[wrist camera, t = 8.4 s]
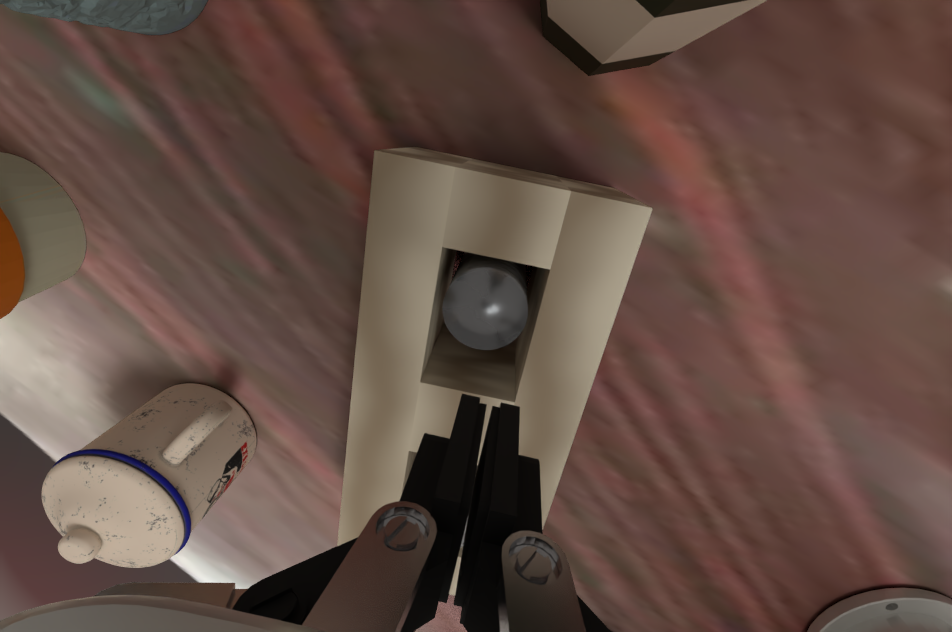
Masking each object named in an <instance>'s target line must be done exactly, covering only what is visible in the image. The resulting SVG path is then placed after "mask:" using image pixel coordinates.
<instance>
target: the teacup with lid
mask: <svg viewBox="0 0 952 632" xmlns="http://www.w3.org/2000/svg"><path fill="white" fill-rule="evenodd" d="M256 443H257V438H256V432H255V428H254V425H253V423H252V421H251V419H250V417H249V415H248V414H247V413H246V411H245V410H244V409H243V408H242V407H241V406H240V405H239V404H238V403H237V402H236V401H235V400H234V399H232V398H231V397H230V396H228V395H227V394H225V393H223V392H221V391H220V390H217V389H215V388H212V387H209V386H206V385H201V384H194V383H185V384H178V385H174V386H172V387H169V388H167V389H165V390H164V391H162V392H161V393H159V394H158V395H157V396H155V397H154V398H152V399H151V400H150V401H148V402H147V403H145V404H144V405H143V406H141V407H140V408H138V409H137V410H136V411H134V412H133V413H131V414H130V415H129V416H127V417H126V418H124V419H123V420H122V421H120V422H119V423H117V424H116V425H115V426H113V427H112V428H110V429H109V430H108V431H106V432H105V433H103V434H102V435H101V436H99V437H98V438H96V439H95V440H93V441H92V442H91V443H89V444H88V445H86V446H85V447H84V448H82V449H81V450H79V451H76V452H72V453H70V454H68V455H66V456H64V457H62V458H61V459H60V460H59V461H57V462H56V464H55V465H54V466H53V468H52V469H51V470H50V471H49V473H48V474H47V476H46V478H45V480H44V483H43V487H42V502H43V506H44V509H45V511H46V514H47V516H48V518H49V519H50V521H51V523H52V524H53V525H54V527H55V528H56V529H57V530H58V532H59V533H60V534H61V535H62V536H63V538H62V539H61V540H60V542H59V544H58V550H59V553H60V554H61V555H62V556H63V557H64V558H65V559H66V560H68V561H70V562H73V563H78V564H79V563H85V562H88V561H90V560H92V559H93V558H96V559H98V560H101V561H103V562H106V563H109V564H113V565H117V566H122V567H132V568H133V567H134V568H141V567H148V566H153V565H156V564H159V563H161V562H164V561H166V560H167V559H169V558H171V557H172V556H173V555H175V554H177V553H178V552H179V551H180V550H181V549H182V548H183V547H184V546H185V544H186V543H187V541H188V539H189V536H190V533H191V531H192V530H193V529H194V528H195V527H196V525H197V524H198V523H199V522H200V521H201V519H202V518H203V517H204V516H205V515H206V513H207V512H208V511H209V510H210V509H211V507H212V506H213V505H214V504H215V503H216V501H217V500H218V499H219V498H220V496H221V495H222V494H223V493H224V492H225V490H226V489H227V488H228V487H229V486H230V484H231V483H232V482H233V481H234V480H235V478H236V477H237V476H238V475H239V474H240V472H241V471H242V470H243V469H244V468H245V466H246V465H247V464H248V463H249V461H250V460H251V459H252V457H253V455H254V452H255V449H256Z"/></svg>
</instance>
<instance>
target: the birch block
mask: <svg viewBox="0 0 952 632" xmlns="http://www.w3.org/2000/svg"><path fill="white" fill-rule="evenodd" d="M652 209H653V208H652V207H650V206H648V205H646V204H644V203H642V202H640V201H638V200H636V199H634V198H632V197H630V196H628V195H627V194H625V193H623V192H621V191H619V190H617V189H615V188H611V187H607V186H602V185H597V184H592V183H587V182H583V181H578V180H573V179H568V178H563V177H559V176H554V175H549V174H544V173H539V172H535V171H530V170H525V169H520V168H515V167H510V166H506V165H501V164H496V163H491V162H486V161H482V160H477V159H472V158H467V157H462V156H458V155H453V154H448V153H443V152H438V151H433V150H429V149H424V148H419V147H406V148H394V149H383V150H374V160H373V171H372V181H371V192H370V203H369V213H368V224H367V234H366V245H365V256H364V266H363V277H362V288H361V298H360V309H359V320H358V330H357V341H356V351H355V362H354V373H353V383H352V394H351V405H350V415H349V426H348V436H347V447H346V458H345V468H344V479H343V490H342V500H341V511H340V521H339V532H338V543H337V546H339V545H341V544H344V543H346V542H348V541H350V540H353V539H355V538H357V537H359V535H360V534H361V532H362V531H363V529H364V527H365V526H366V524H367V523H368V521H369V520H370V518H371V517H372V515H373V514H374V513H375V512H376V511H377V510H378V509H379V508H381V507H382V506H384V505H386V504H389V503H392V502H396V501H400V498H401V495H402V493H403V490H404V487H405V484H406V482H407V479H408V476H409V473H410V471H411V468H412V465H413V462H414V460H415V457H416V454H417V451H418V449H419V446H420V443H421V440H422V438H423V435H424V433H427V434H432V435H436V436H440V437H445V438H449V439H450V436H451V433H452V429H453V425H454V421H455V418H456V414H457V410H458V407H459V403H460V399H461V395H462V394H467V395H471V396H475V397H480V403H483V404H487V406H486V413H485V419H484V425H483V431H482V437H481V444H480V450H479V456H478V462H477V465H478V463H479V459H480V455H481V451H482V447H483V443H484V438H485V434H486V430H487V426H488V422H489V418H490V414H491V410H492V406H496V407H500V404H501V402H502V403H506V404H510V405H515V406H519V407H520V425H519V455H522V456H527V457H531V458H535V459H539V462H540V482H541V508H542V530H543V527H544V524H545V521H546V519H547V516H548V513H549V510H550V507H551V504H552V501H553V498H554V495H555V492H556V489H557V486H558V484H559V481H560V478H561V475H562V472H563V469H564V466H565V463H566V460H567V457H568V454H569V451H570V448H571V446H572V443H573V440H574V437H575V434H576V431H577V428H578V425H579V422H580V419H581V416H582V413H583V410H584V408H585V405H586V402H587V399H588V396H589V393H590V390H591V387H592V384H593V381H594V378H595V375H596V372H597V370H598V367H599V364H600V361H601V358H602V355H603V352H604V349H605V346H606V343H607V340H608V337H609V334H610V332H611V329H612V326H613V323H614V320H615V317H616V314H617V311H618V308H619V305H620V302H621V299H622V297H623V294H624V291H625V288H626V285H627V282H628V279H629V276H630V273H631V270H632V267H633V264H634V261H635V259H636V256H637V253H638V250H639V247H640V244H641V241H642V238H643V235H644V232H645V229H646V226H647V223H648V221H649V218H650V215H651V212H652ZM457 250H459V251H464V252H469V253H474V254H478V255H483V256H488V257H493V258H497V259H502V260H507V261H512V262H517V263H521V264H526V265H531V266H533V270H532V274H531V278H530V282H529V286H528V290H527V302H528V317H527V321H526V324H525V327H524V329H523V331H522V332H521V334H520V335H519V336H518V337H517V338H516V339H515V340H514V341H513V342H511V343H510V344H508V345H506V346H504V347H501V348H498V349H494V350H479V349H474V348H471V347H469V346H466V345H464V344H463V343H461V342H460V341H458V340H457V339H456V338H455V337H454V336H453V335H452V334H451V333H450V331H449V330H448V328H447V326H446V324H445V322H444V318H443V312H442V306H443V300H444V297H445V294H446V292H447V290H448V288H449V285H450V283H451V280H452V274H453V269H454V263H455V257H456V252H457ZM462 550H463V547H461V548H460V551H459V555H458V559H457V563H456V567H455V571H454V575H453V579H452V583H451V587H450V591H449V594H450V595H455V593H456V587H457V581H458V575H459V569H460V562H461V556H462Z"/></svg>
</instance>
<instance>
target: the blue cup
mask: <svg viewBox="0 0 952 632" xmlns="http://www.w3.org/2000/svg"><path fill="white" fill-rule="evenodd" d="M207 1H208V0H0V4H4V5H5V6H7V7H8V8H10V9H11V10H13V11H17V12H22V13H27V14H34V15H37V16H41V17H49V18H56V19H60V20H64V21H69V22H71V21H74V20H77V21H79V22H81V23H83V24H88V25H95V26H100V27H110V28H114V29H118V30H123V31H129V32H135V33H141V34H146V35H162V34H169V33H172V32H175V31H178V30H181V29H182V28H184V27H186V26H188V25H189V24H190V23H191V22H193V21H194V20H195V19H196V18H197V17H198V16H199V14H200V13H201V12H202V10H203V9H204V7H205V5H206V3H207Z"/></svg>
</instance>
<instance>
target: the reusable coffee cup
mask: <svg viewBox="0 0 952 632" xmlns="http://www.w3.org/2000/svg"><path fill="white" fill-rule="evenodd" d="M85 252H86V235H85V231H84V226H83V223H82V220H81V218H80V215H79V213H78V210H77V209H76V207H75V205H74V204H73V202H72V200H71V199H70V197H69V196H68V194H67V193H66V192H65V191H64V189H63V188H62V187H61V186H60V185H59V184H58V183H57V182H56V181H55V180H54V179H53V178H52V177H51V176H50V175H49V174H48V173H47V172H45V171H44V170H42V169H41V168H40V167H38V166H37V165H35V164H33V163H32V162H30V161H28V160H26V159H24V158H22V157H19V156H16V155H13V154H10V153H2V152H0V319H1V318H2V317H4V316H6V315H7V314H9V313H10V312H11V311H12V310H13V308H14V307H15V306H16V305H17V304H18V302H20V301H22V300H25V299H27V298H29V297H31V296H33V295H35V294H37V293H39V292H41V291H44V290H46V289H48V288H50V287H52V286H54V285H56V284H58V283H60V282H63V281H65V280H67V279H68V278H70V277H71V276H73V275H74V274H75V273H76V272H77V271H78V270H79V268H80V267H81V265H82V263H83V260H84V258H85Z"/></svg>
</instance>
